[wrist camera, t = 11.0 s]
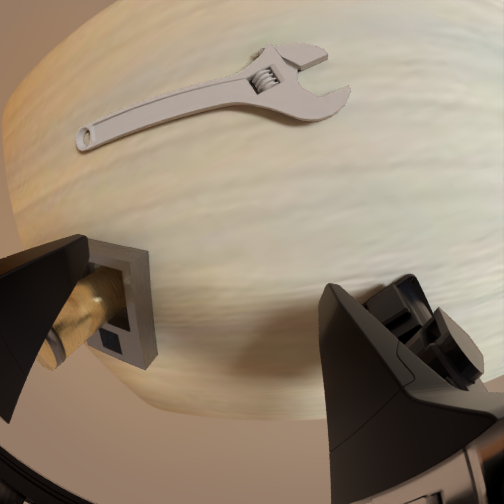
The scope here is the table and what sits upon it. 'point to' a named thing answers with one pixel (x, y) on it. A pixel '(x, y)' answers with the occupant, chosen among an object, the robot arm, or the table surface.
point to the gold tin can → (83, 315)
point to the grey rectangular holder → (137, 301)
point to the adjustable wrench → (229, 96)
